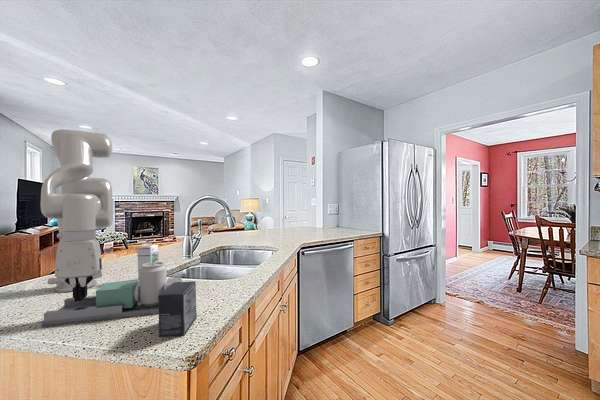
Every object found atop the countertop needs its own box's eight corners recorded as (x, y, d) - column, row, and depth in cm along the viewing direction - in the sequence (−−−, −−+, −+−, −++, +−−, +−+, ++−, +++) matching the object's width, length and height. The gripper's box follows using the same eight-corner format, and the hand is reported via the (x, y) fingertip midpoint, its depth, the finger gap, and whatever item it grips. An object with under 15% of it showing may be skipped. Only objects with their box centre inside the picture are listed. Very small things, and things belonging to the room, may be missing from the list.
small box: (173, 318, 77) (172, 281, 78) (197, 317, 78) (196, 280, 78) (157, 337, 67) (156, 294, 67) (184, 336, 68) (184, 293, 68)
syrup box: (151, 281, 113) (151, 246, 113) (137, 281, 113) (137, 246, 113) (159, 277, 119) (158, 244, 119) (145, 278, 119) (145, 244, 119)
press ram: (95, 311, 78) (95, 290, 78) (106, 301, 86) (106, 282, 86) (136, 307, 81) (135, 287, 81) (142, 298, 89) (142, 279, 89)
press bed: (41, 327, 73) (41, 298, 73) (65, 310, 84) (64, 285, 84) (177, 311, 83) (177, 286, 83) (182, 297, 94) (182, 275, 94)
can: (138, 308, 81) (138, 267, 81) (140, 300, 88) (140, 262, 88) (166, 304, 84) (166, 264, 84) (166, 296, 91) (166, 260, 91)
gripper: (40, 239, 75) (40, 307, 75) (105, 236, 79) (105, 301, 79) (55, 236, 82) (55, 298, 82) (113, 233, 86) (114, 292, 86)
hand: (80, 299), depth 81 cm, fingers closed
